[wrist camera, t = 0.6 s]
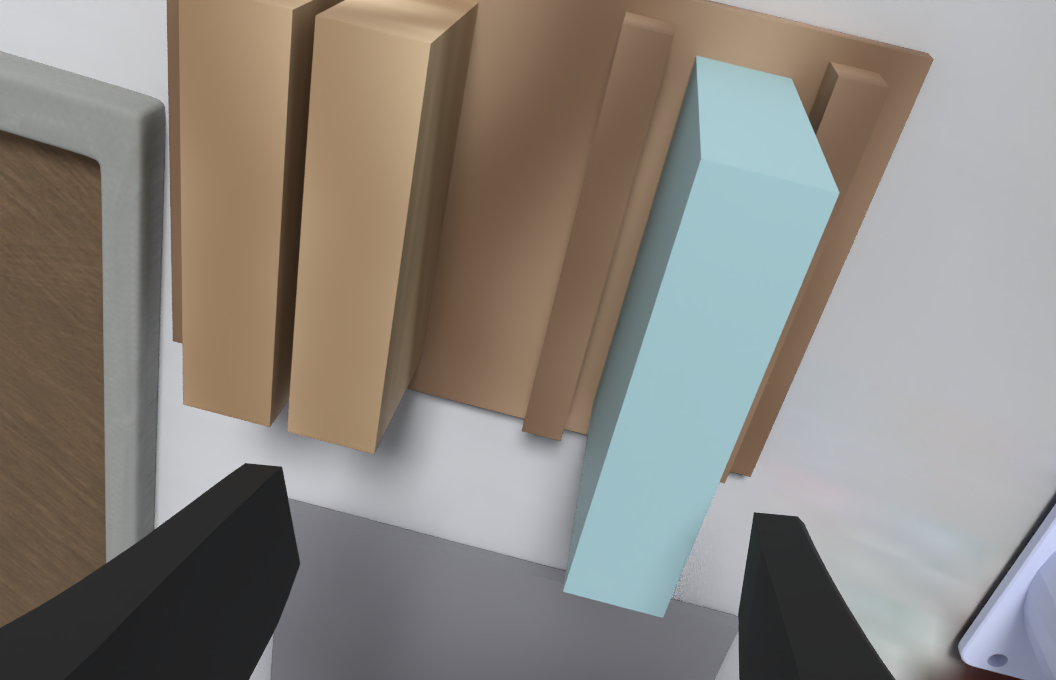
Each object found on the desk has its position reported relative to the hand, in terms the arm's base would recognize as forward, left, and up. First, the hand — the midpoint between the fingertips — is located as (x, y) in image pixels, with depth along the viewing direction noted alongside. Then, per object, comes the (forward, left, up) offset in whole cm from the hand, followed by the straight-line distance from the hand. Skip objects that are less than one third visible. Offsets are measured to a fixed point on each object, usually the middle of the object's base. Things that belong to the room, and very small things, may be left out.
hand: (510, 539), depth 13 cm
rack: (+2, -1, -9) cm, 10 cm away
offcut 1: (+7, -1, -9) cm, 11 cm away
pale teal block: (-2, -1, -9) cm, 9 cm away
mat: (0, +16, -9) cm, 18 cm away
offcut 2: (+4, -1, -9) cm, 10 cm away
